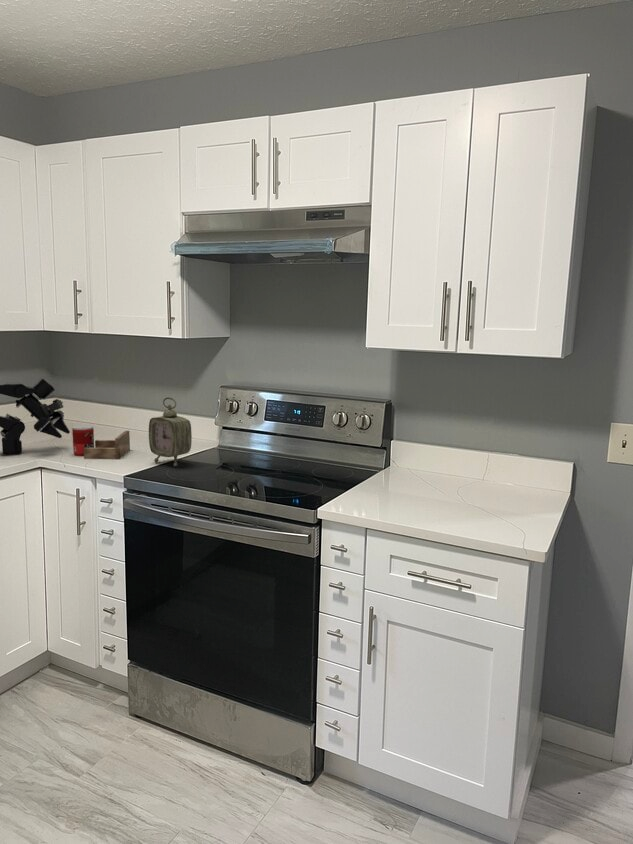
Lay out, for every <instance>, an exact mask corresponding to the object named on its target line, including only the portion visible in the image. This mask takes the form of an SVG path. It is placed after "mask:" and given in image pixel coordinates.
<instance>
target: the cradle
mask: <svg viewBox="0 0 633 844" xmlns="http://www.w3.org/2000/svg"><path fill="white" fill-rule="evenodd" d="M130 438H131V437H130V430H124V431H123V432H121V433H120V434H119V435H118V436H117V437H115V438H114V439H96V440H95V439H94V448H84V456H83V459H87V460H89V459H92V460H93V459H95V460H98V459H102V460H108V459H109V460H110V459H111V460H115V459H116V460H121V459H122V458H123V457H124V456H125V455H126V454H127V453H128V452H129V451H131V445H130V444H131V443H130V442H131V441H130Z"/></svg>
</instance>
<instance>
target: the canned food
mask: <svg viewBox="0 0 633 844" xmlns="http://www.w3.org/2000/svg"><path fill="white" fill-rule="evenodd" d="M71 430H72V432H71V434H72V452H73V455H74V456H75V457H76V456H77V457H84V448H95V434H94V432H95V429H94V426H93V425H90V424H80V425H73V426H72V428H71Z"/></svg>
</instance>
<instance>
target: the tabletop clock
mask: <svg viewBox="0 0 633 844" xmlns="http://www.w3.org/2000/svg"><path fill="white" fill-rule="evenodd" d="M166 400H170V401H171V400H172V402H173V403H174V406H172V405H171V404H168V406H167V405H166V404H165V401H166ZM162 405H163V406H164V407H165V408H166V409H165V410H164V412H163V413H162V416H155V417H151V418H150V419H149V421H148V443H149V450H150V452H151V453H152V454H154V455H156V456H157V457H156V458H154V459H153V461H154V462H155V463H158V462H159V461H160V460H159V459H160V457H163V458H173V467H175V466H177V467H178V466H179V463H178V462H179V460H178V456H182V455H187V454H188V453H189V452H190V451H191V449H192V442H193V441H192V439H193V437H192V435H193V434H192V424H191V421H190V419H187V418H186V417H183V416H180V415H178V414H177V411H175V410H174V409H175V408H176V407H177V401H176V399H174V398H173V397H164V399H163V401H162ZM174 461H175V462H174Z"/></svg>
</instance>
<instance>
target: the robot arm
mask: <svg viewBox="0 0 633 844" xmlns="http://www.w3.org/2000/svg"><path fill="white" fill-rule="evenodd" d="M55 391H56V389H55V388H54V386H52V385H51V384H50V383H48V382H47V381H46V380H45V379H44V378H42V377H41V378H40V379H39V380H38V382H37V383H35V384H34V385H33V386H32V387H31V386H29V385H28V386H26V385H25V384H22V383H21V382H18V381H14V382H13V381H11V382H4V383H0V395H2V396H3V395H4V396H8V397H11V398H16V400H15V406H16V408H17V409H18V408H20V407H21V406H22V407H23V408H24V409H26V411H27V412H29V413H30V417H31V418H33V417H34V418H35V419H36V420H37V421H36V422H35V423H34V424H33V429H34V430H35V431H36V432H39V433H43V434H46V435H49V436H51V437H55V438H58V439H62V438H63V436H62V434H61V433H60V431H62V432H63V433H65V434H67V435H69V434H70V433H71V431H70V429H69V428H68V426H67V425H66V423H65V421H64V418H65V415H64V414H65V412H63V411H62V410H61V409H63V408H64V405H63V404H64V403H63V401H62V399H58V398H56V399H53V400H52V403H50V404H46V403H42V402H41V401H40V400H46V399H47V398H48V397H49V396H51V395H52V394H53V393H54V392H55ZM0 428H2V429H1V431H0V435H1V437H2V438H1V447H2V453H1V455H2V454H12V455H11V456H13V454H15V455H21V454H22V452H23V445H22V442H23V441H22V439H21V436H22V434H23V433H24V432H25V430H26V426H25V423H24V422H23V421H22V420H21V418H19V417H17V416H12V415H11V414H9V413H6V414H5V416H3V415H0Z"/></svg>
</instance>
